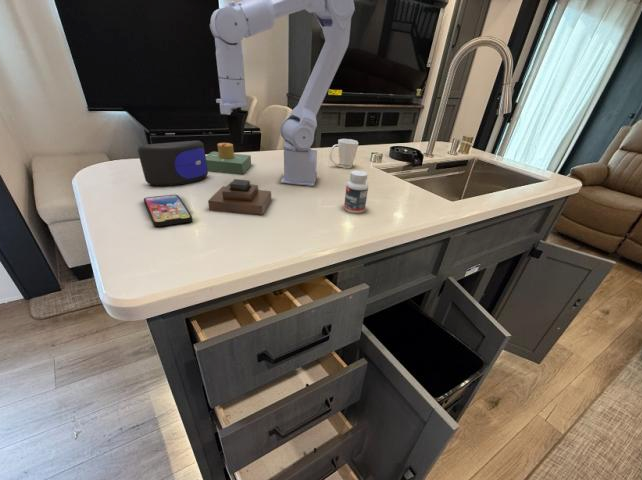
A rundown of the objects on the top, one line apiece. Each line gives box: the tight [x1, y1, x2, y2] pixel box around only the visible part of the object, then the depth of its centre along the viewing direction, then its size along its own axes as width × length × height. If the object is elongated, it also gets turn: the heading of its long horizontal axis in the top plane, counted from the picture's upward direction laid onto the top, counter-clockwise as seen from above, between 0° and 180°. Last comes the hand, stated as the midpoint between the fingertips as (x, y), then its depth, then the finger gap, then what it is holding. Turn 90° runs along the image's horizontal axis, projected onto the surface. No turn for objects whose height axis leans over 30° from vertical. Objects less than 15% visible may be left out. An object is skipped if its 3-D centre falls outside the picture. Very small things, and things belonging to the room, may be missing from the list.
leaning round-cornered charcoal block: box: [137, 140, 209, 187], centre depth 82 cm, size 16×5×9 cm, turn 134°
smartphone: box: [143, 194, 193, 227], centre depth 70 cm, size 7×1×15 cm
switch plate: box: [207, 183, 272, 216], centre depth 75 cm, size 12×10×4 cm
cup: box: [329, 138, 359, 169], centre depth 108 cm, size 7×10×8 cm
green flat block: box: [205, 151, 252, 175], centre depth 98 cm, size 12×10×3 cm
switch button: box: [229, 178, 251, 192], centre depth 74 cm, size 4×4×2 cm
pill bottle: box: [343, 170, 369, 214], centre depth 78 cm, size 5×5×9 cm
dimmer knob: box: [216, 142, 235, 159], centre depth 96 cm, size 4×4×4 cm
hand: (237, 143), depth 81 cm, fingers closed
